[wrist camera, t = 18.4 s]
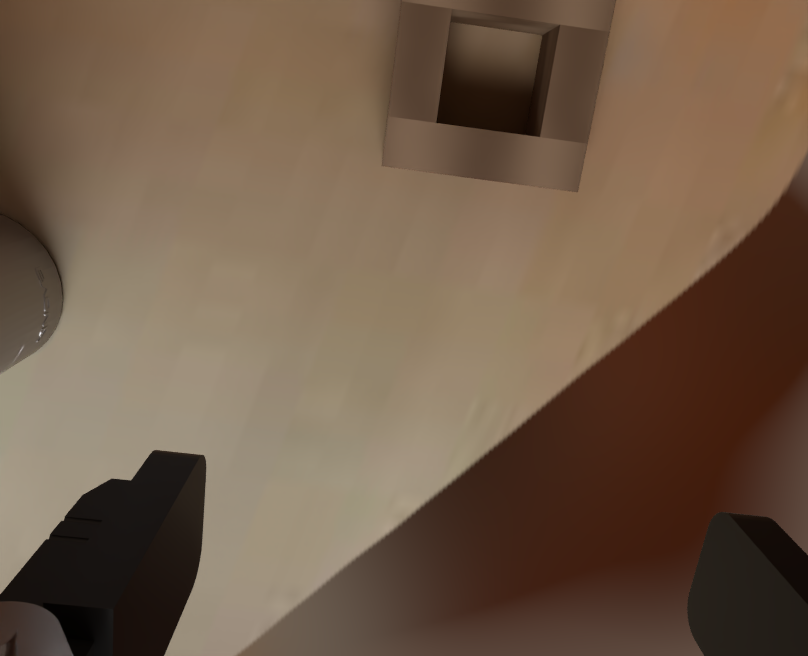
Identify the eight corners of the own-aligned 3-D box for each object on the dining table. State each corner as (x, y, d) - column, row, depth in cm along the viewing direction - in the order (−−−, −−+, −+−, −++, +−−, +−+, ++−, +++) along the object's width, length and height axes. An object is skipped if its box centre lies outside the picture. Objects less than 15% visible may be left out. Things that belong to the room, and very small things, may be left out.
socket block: (382, 161, 38) (381, 165, 35) (406, -36, 36) (408, -56, 32) (559, 185, 39) (577, 192, 35) (596, -8, 36) (620, -24, 32)
